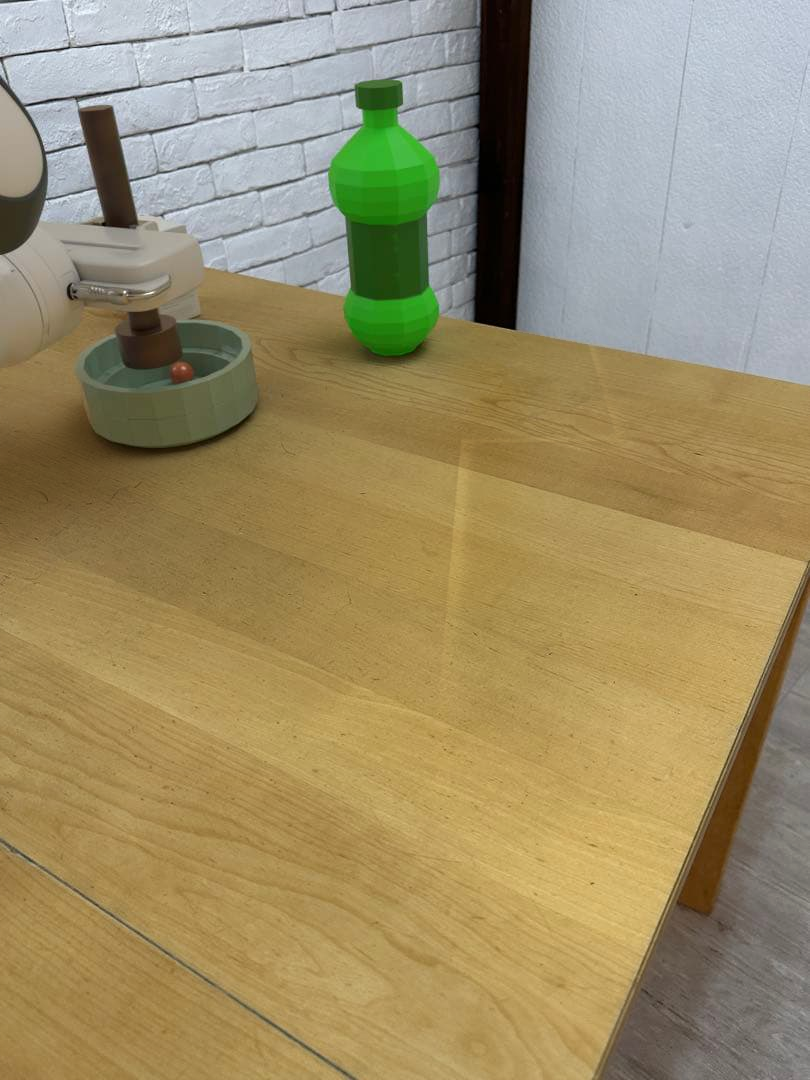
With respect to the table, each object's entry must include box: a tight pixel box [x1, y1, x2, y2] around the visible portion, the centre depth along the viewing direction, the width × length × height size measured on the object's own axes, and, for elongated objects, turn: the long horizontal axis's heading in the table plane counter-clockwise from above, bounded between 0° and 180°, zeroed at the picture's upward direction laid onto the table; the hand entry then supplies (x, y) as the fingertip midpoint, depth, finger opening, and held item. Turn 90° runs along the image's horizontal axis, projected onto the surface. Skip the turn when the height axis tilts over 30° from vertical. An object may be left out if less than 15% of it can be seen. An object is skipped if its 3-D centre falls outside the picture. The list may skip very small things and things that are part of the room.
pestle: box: [77, 104, 183, 370], centre depth 73 cm, size 5×5×20 cm
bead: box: [169, 361, 195, 385], centre depth 87 cm, size 2×2×2 cm
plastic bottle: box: [327, 78, 441, 357], centre depth 88 cm, size 10×10×25 cm
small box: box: [123, 212, 202, 320], centre depth 102 cm, size 8×6×10 cm
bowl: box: [74, 319, 260, 449], centre depth 84 cm, size 16×16×6 cm
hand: (130, 228), depth 74 cm, fingers closed on pestle, 3 cm apart
